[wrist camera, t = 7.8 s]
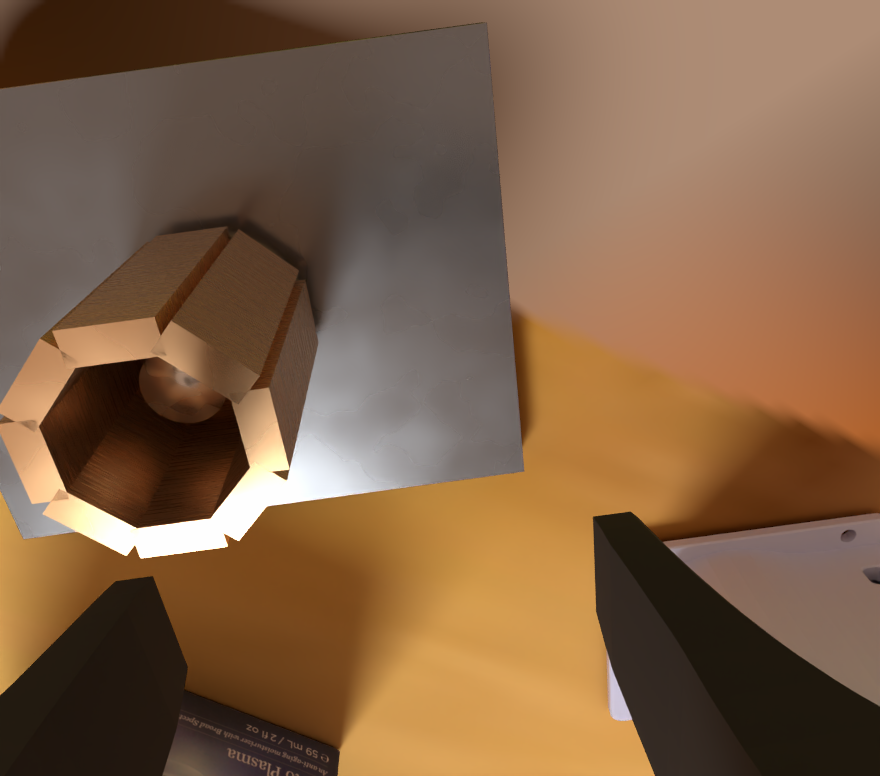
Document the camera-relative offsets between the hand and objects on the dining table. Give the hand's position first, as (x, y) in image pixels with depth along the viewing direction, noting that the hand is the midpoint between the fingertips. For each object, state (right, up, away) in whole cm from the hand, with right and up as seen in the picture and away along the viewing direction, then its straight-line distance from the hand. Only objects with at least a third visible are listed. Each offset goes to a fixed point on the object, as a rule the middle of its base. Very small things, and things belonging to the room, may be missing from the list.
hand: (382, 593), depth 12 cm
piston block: (-5, +6, +8) cm, 11 cm away
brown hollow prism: (-5, +5, +6) cm, 9 cm away
